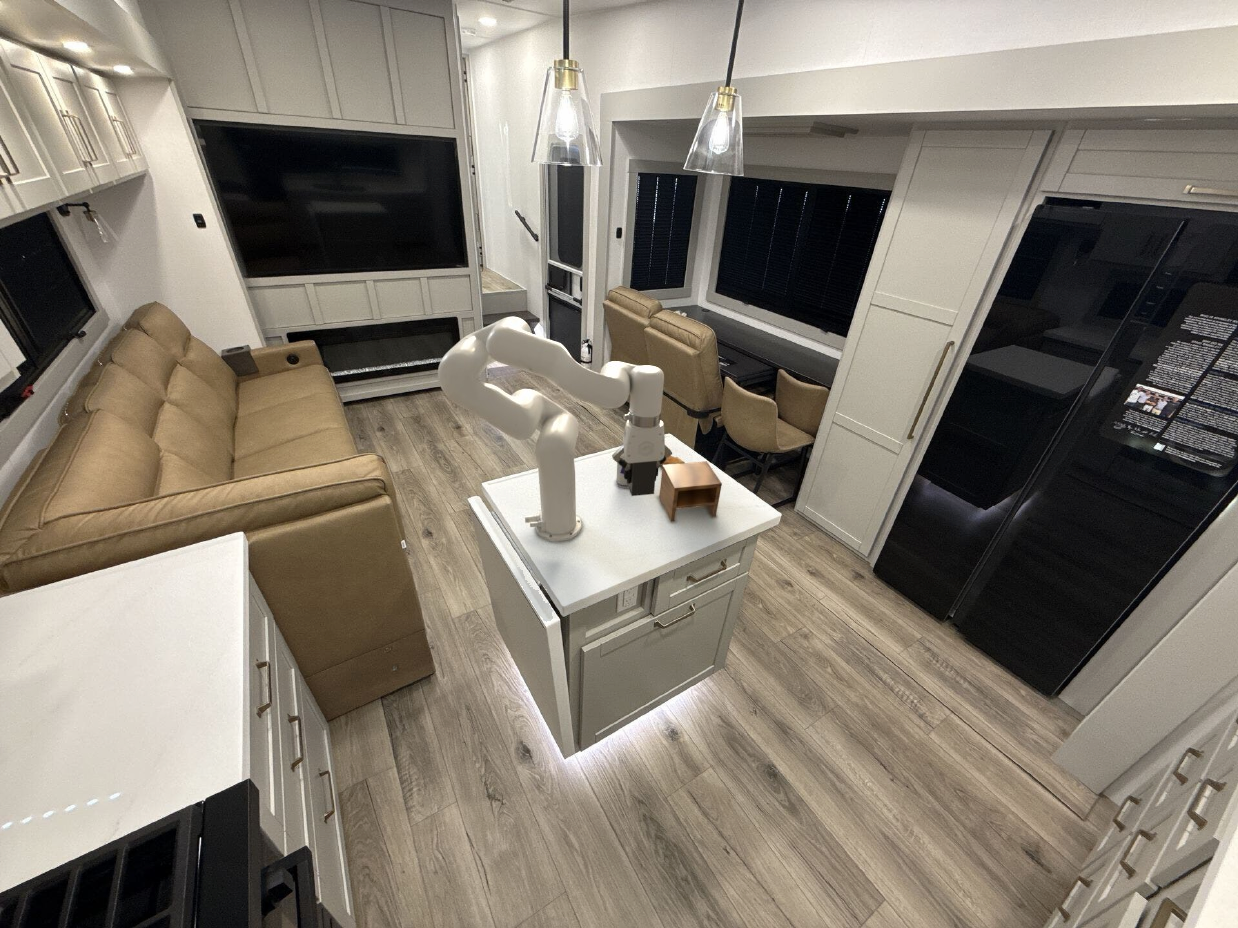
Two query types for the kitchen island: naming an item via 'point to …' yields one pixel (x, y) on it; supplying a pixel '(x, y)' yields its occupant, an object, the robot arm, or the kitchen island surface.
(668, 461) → the pastry
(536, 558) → the kitchen island surface
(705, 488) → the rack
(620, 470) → the energy drink
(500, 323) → the robot arm
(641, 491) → the holder
